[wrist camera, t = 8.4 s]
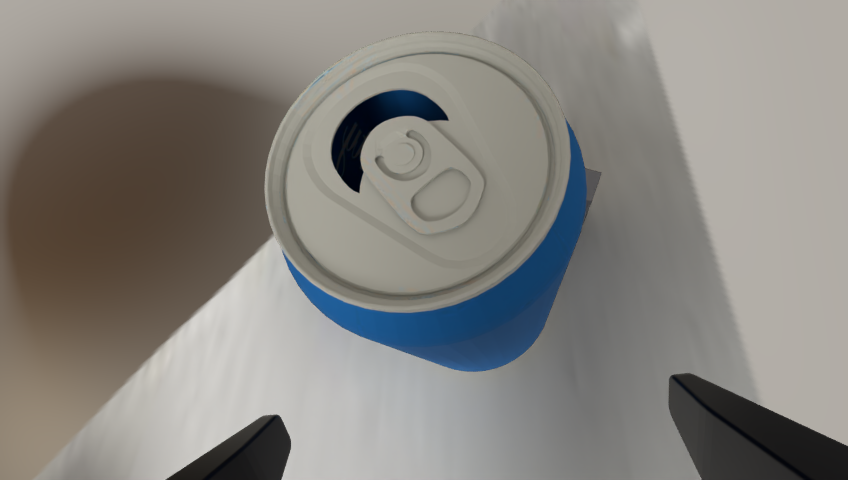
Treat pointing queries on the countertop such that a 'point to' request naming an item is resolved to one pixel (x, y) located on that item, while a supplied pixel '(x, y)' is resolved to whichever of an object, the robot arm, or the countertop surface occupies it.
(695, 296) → the countertop surface
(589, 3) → the countertop surface
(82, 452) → the countertop surface
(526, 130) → the beverage can
